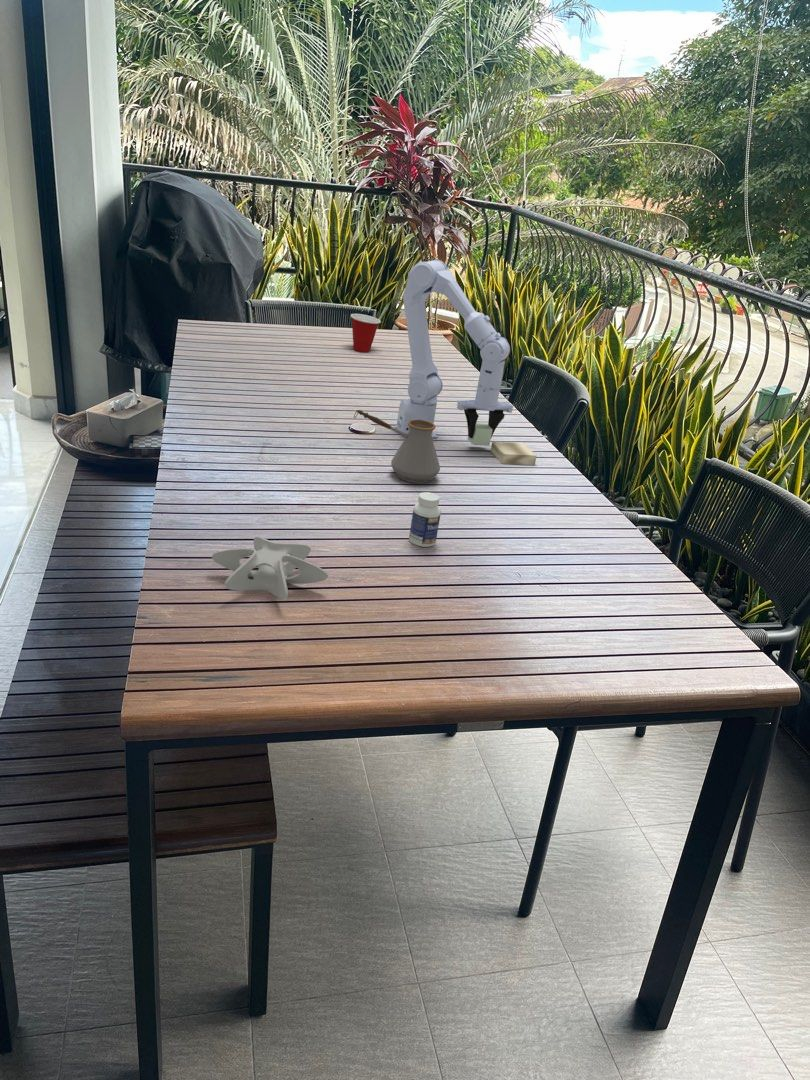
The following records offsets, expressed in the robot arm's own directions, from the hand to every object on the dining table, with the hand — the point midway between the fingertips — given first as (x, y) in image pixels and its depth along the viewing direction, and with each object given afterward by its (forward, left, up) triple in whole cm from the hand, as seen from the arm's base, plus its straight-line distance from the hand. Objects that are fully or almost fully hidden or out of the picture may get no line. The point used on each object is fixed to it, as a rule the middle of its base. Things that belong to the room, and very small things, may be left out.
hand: (479, 437), depth 217 cm
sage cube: (0, 0, -2) cm, 2 cm away
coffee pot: (-28, -19, -4) cm, 34 cm away
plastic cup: (-9, +97, -4) cm, 97 cm away
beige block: (+8, -6, -4) cm, 10 cm away
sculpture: (-63, -68, -4) cm, 93 cm away
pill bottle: (-31, -53, -4) cm, 62 cm away
